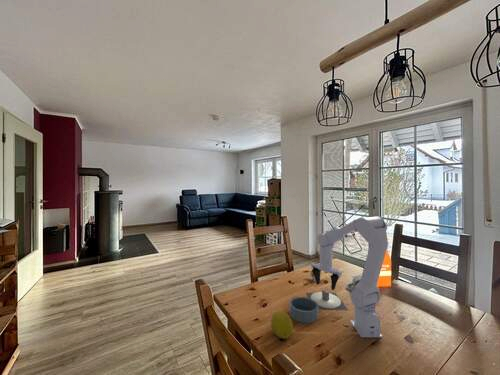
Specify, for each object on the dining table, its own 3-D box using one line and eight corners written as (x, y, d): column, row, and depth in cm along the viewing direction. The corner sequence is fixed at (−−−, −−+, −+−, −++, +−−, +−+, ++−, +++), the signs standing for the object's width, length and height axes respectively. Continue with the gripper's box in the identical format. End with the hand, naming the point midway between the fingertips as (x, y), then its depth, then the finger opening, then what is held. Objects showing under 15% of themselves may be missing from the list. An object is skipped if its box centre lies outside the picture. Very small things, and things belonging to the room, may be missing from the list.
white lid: (345, 308, 99) (345, 299, 99) (315, 308, 99) (315, 298, 99) (334, 293, 113) (334, 285, 113) (307, 293, 113) (307, 284, 113)
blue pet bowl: (321, 324, 89) (321, 312, 89) (292, 324, 89) (292, 311, 89) (313, 307, 101) (313, 297, 101) (287, 307, 101) (287, 296, 101)
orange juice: (367, 280, 129) (367, 246, 129) (381, 280, 130) (382, 246, 130) (376, 287, 121) (376, 250, 121) (391, 286, 122) (391, 250, 122)
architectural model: (311, 283, 126) (311, 270, 126) (307, 278, 133) (308, 266, 133) (317, 283, 126) (317, 270, 126) (313, 278, 133) (313, 266, 133)
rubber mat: (347, 311, 98) (347, 309, 98) (314, 310, 99) (314, 309, 99) (335, 294, 113) (335, 292, 113) (305, 293, 114) (305, 292, 114)
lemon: (295, 345, 78) (295, 322, 78) (273, 345, 78) (273, 322, 78) (289, 325, 89) (289, 305, 88) (270, 325, 89) (270, 305, 88)
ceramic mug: (366, 288, 120) (366, 274, 120) (370, 295, 112) (370, 280, 112) (345, 286, 123) (345, 272, 123) (347, 293, 115) (347, 278, 115)
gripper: (344, 260, 103) (344, 288, 104) (316, 252, 114) (315, 279, 114) (338, 264, 98) (337, 294, 99) (309, 256, 109) (308, 283, 109)
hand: (325, 286), depth 106 cm, fingers open, 7 cm apart
